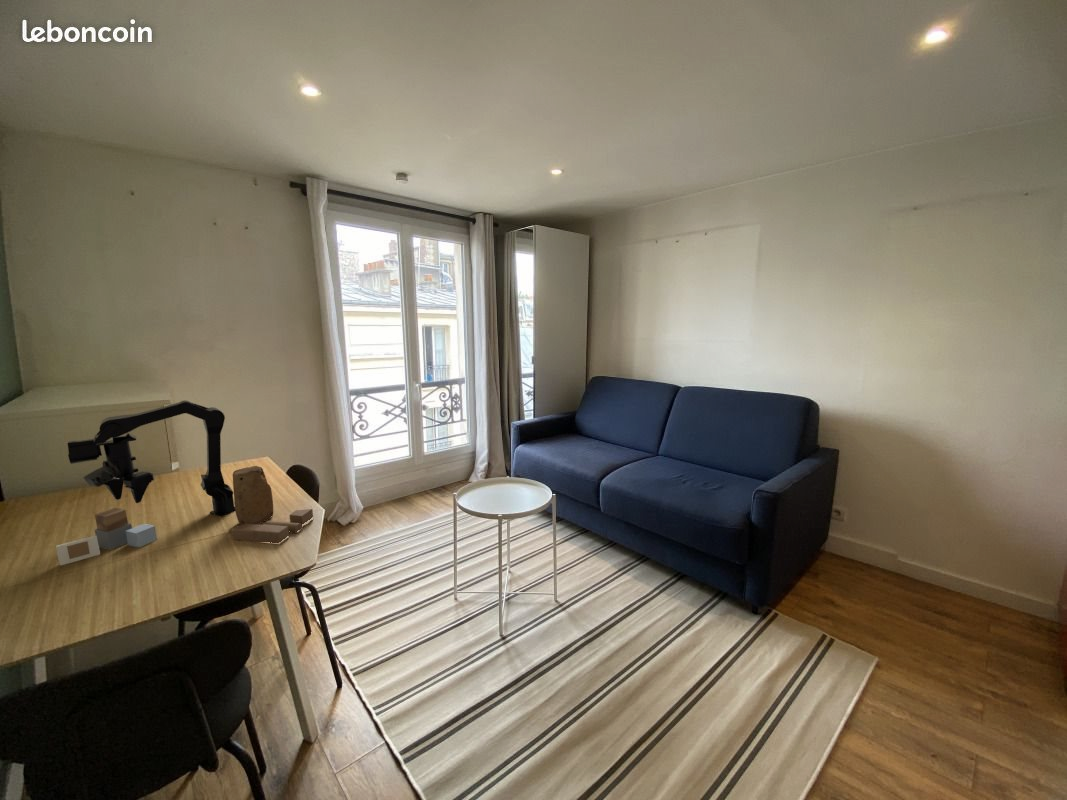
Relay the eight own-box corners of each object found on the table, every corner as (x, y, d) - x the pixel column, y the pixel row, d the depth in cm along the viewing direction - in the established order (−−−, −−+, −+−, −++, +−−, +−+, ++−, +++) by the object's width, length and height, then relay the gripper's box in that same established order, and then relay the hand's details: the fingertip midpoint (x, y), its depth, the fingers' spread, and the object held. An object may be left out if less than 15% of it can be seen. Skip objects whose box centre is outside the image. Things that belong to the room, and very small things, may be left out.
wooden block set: (280, 530, 128) (229, 526, 131) (282, 546, 129) (232, 541, 132) (314, 506, 145) (269, 503, 147) (316, 521, 146) (271, 517, 148)
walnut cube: (128, 524, 129) (125, 509, 128) (108, 531, 124) (105, 516, 123) (117, 521, 130) (114, 507, 129) (97, 529, 126) (94, 514, 125)
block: (239, 529, 138) (232, 475, 135) (236, 522, 144) (229, 469, 140) (276, 519, 146) (270, 467, 142) (271, 512, 151) (265, 462, 147)
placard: (60, 564, 117) (56, 545, 116) (100, 553, 123) (96, 535, 122) (60, 566, 116) (55, 547, 115) (100, 554, 122) (96, 536, 121)
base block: (134, 540, 130) (131, 523, 129) (110, 550, 125) (107, 532, 124) (121, 537, 132) (118, 520, 131) (97, 547, 126) (94, 529, 125)
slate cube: (157, 539, 131) (154, 525, 130) (138, 547, 126) (136, 533, 125) (146, 537, 132) (144, 523, 132) (127, 545, 128) (125, 530, 127)
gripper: (65, 461, 124) (76, 508, 127) (107, 467, 119) (117, 515, 122) (110, 450, 134) (120, 493, 137) (151, 455, 129) (159, 500, 132)
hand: (128, 500), depth 132 cm, fingers open, 9 cm apart
